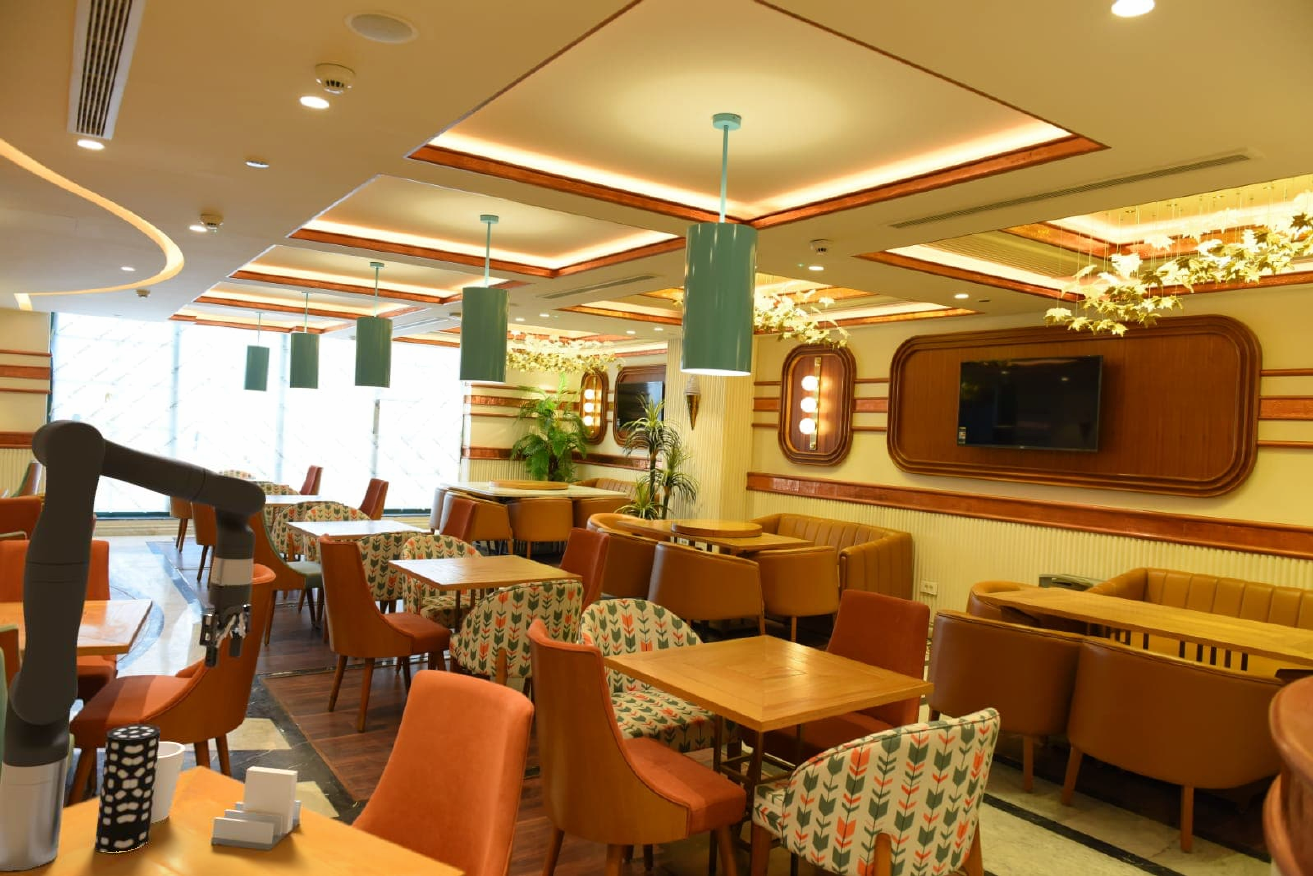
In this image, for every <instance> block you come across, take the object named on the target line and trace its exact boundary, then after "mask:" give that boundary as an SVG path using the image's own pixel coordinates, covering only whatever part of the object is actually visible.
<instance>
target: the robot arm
mask: <svg viewBox="0 0 1313 876" xmlns="http://www.w3.org/2000/svg"><path fill="white" fill-rule="evenodd" d="M30 441H31V442H30V443H31V444H30V447H31V453H32V454H33V456H34V458H35V459H36V461H37V462H39V464H41V466H43V467H45V489H44V490H45V493H44V499H43V504H42V508H41V511H40V514H39V516H38V519H37V521H36V523H35V525H34V528H33V531H32V532H31V535H30V538H29V541H28V545H27V548H26V553H25V560H24V569H23V576H22V577H23V578H22V579H23V580H22V610H23V611H22V613H23V622H24V635H25V637H24V638H25V639H24V640H25V641H24V650H23V656H22V660H21V666H20V669H19V670H18V671H16V673H15V674H14V676H13V677H12V679H11V681H10V683H9V687H8V692H7V693H8V694H7V699H6V711H5V718H4V719H5V722H4V730H3V731H4V732H3V753H2V762H1V763H2V764H1V771H0V772H1V773H0V871H3V872H14V871H13V870H20V871H25V870H30V869H34V868H33V867H35V868H37V867H36V866H38V867H40V866H39V865H41V866H43V864H44V865H46V864H48V863H50V862H52V861H53V860H54V859H56V857H58V854H59V853H58V852H59V844H60V836H61V835H60V834H61V827H62V817H63V808H64V801H65V800H64V799H65V791H66V789H65V788H66V781H67V770H68V763H69V754H70V753H69V752H70V744H71V737H70V736H71V735H70V719H71V718H70V717H71V709H72V707H73V706H74V705H75V703H76V700H77V698H78V693H79V686H78V641H79V634H80V628H81V623H82V617H83V613H84V608H85V602H86V596H87V590H88V586H89V585H88V584H89V578H90V568H91V555H92V554H91V552H92V539H93V530H94V510H95V509H94V508H95V502H96V494H97V490H98V487H99V482H100V477H101V476H102V477H104V478H105V477H106V478H110V479H114V480H118V481H121V482H124V483H128V484H129V485H130V484H131V485H133V486H137V487H139V488H144V489H146V490H149V491H151V492H155V493H158V494H161V495H164V496H167V497H170V498H173V499H177V500H181V501H185V502H189V503H193V504H198V505H204V506H209V507H212V508H214V519H215V527H216V532H217V533H216V540H215V541H216V542H215V550H214V558H213V562H212V567H211V575H210V583H209V591H208V592H209V594H208V604H209V605H212V606H213V607H214V609H213V613H212V614H210V613H204V614H203V616H202V621H201V626H200V627H201V628H200V635H199V643H198V645H199V646H201V647H202V646H203V647H205V649H206V651H205V658H204V659H205V660H204V667H206V668H216V667H218V664H219V657H220V655H219V654H220V646H221V643H222V641H223V639H224V638H226V637H227V636H228V633H229V634H230V641H229V649H228V650H229V651H228V656H229V657H230V658H236V659H237V658H240V657H241V656H242V649H243V642H244V638H245V637H246V634H250V631H251V627H252V626H251V625H252V624H251V623H252V613H253V612H252V610H253V605H252V604H250V603H251V599H252V598H251V597H252V588H253V579H254V578H253V576H254V571H255V570H254V568H255V567H254V566H255V565H254V557H255V548H256V546H255V545H256V533H255V531H254V530H253V528H251V526H250V517H252V516H254V515H257V514H259V513H260V512H261V511H262V510H263V508H265V505H266V502H267V496H266V492H265V491H264V489H263V488H262V486H261V485H259V484H257V483H256V482H253V481H250V480H246V479H243V478H239V477H235V476H231V475H226V474H222V473H218V472H216V471H213V470H211V469H208V468H206V467H203V466H200V465H197V464H194V463H191V462H188V461H184V460H180V459H176V458H174V457H169V456H165V455H160V454H157V453H151V452H149V451H144V450H139V449H135V448H132V447H129V446H125V445H122V444H120V443H117V442H114V441H113V440H110V439H107V438H105V437H103V435H102V433H101V431H100V430H99V429H98V428H97V427H95V426H94V425H92V424H91V423H88V422H85V421H81V420H74V419H73V420H72V419H57V420H53V421H50V422H47V423H44V425H42V426H41V427H39V428H38V429H37V430H36V431H35V432H34V434H33V436H32V437H31V440H30ZM49 861H50V862H49ZM47 862H48V863H47ZM45 863H46V864H45Z"/></svg>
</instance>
